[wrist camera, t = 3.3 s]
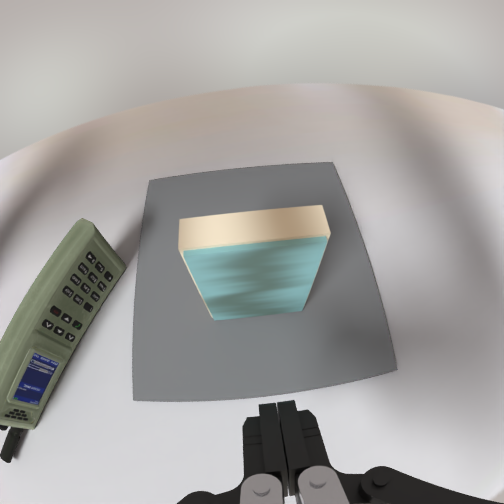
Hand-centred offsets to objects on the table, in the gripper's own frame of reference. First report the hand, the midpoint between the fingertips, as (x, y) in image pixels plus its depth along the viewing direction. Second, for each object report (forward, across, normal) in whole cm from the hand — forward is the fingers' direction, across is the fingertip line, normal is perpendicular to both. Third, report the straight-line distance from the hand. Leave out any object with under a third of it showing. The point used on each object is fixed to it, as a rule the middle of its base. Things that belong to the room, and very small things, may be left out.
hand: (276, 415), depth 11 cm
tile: (+12, 0, 0) cm, 12 cm away
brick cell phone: (+9, +19, +4) cm, 21 cm away
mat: (+15, 0, -3) cm, 15 cm away
